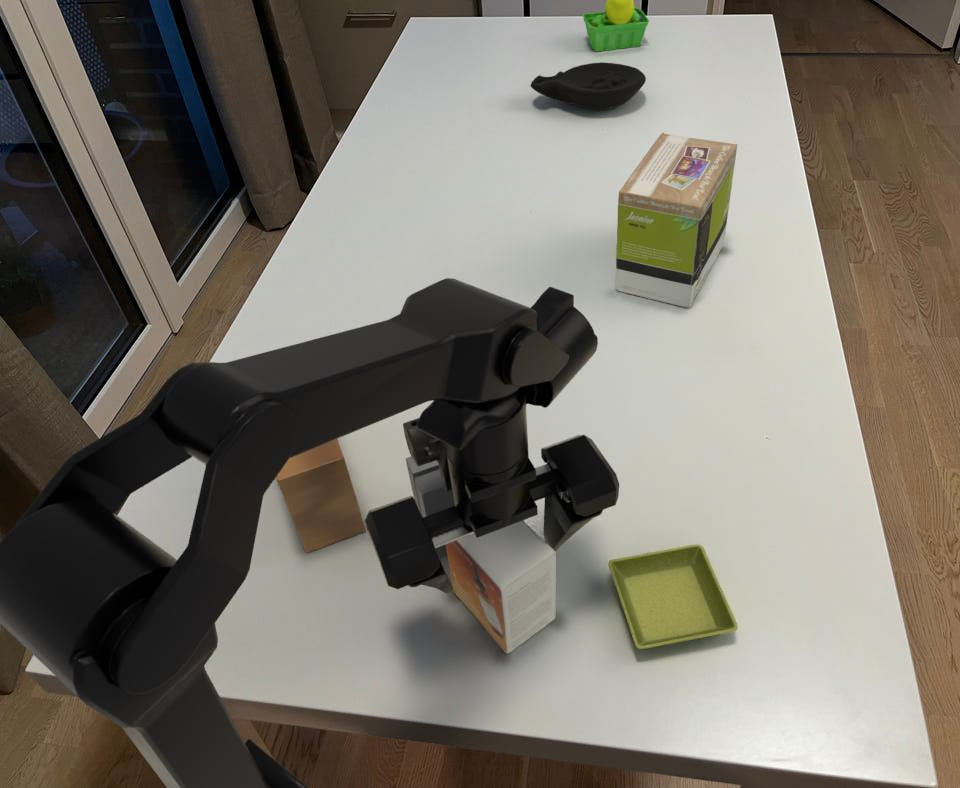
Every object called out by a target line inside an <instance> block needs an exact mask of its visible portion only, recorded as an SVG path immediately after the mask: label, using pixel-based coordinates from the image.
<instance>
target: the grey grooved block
mask: <svg viewBox="0 0 960 788" xmlns="http://www.w3.org/2000/svg"><path fill="white" fill-rule="evenodd" d="M405 463H406V466H407V467H406V468H407V472H408V476H409V477H408V478H409V481H410V486H411V491H412V495H413V498H414V500H415V502H416V504H417V507H418V509H419V511H420V514H421V516H422V518H423V517H426V516H429V515H432V514H434V513H437V512H440V511H442V510H445V509H448V508H450V507H453V506H455V503H454V497H453V491H452V490H451V491H449V492H447V491H446V489H445V487H444V485H443V483H442V480H441V474H440V469H439V464H438V462H437V460H436V461H433V462H430V463H427V464H424V465H421V466H417V465H416V463H415V461H414V460H413V458H412V456H411V455H410V456H408V457H406V458H405ZM435 550H436V552H437V554H438V556H439V558H440V559H443V558H445V557H448V555H447V549H446V545H443V546H441V547H438V548H436V549H435Z"/></svg>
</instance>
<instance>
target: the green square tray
mask: <svg viewBox="0 0 960 788" xmlns="http://www.w3.org/2000/svg"><path fill="white" fill-rule="evenodd" d="M607 565H608V567H609V571H610V574H611V576H612V580H613V582H614V586H615V589H616V592H617V594H618V597H619V601H620V604H621V607H622V610H623V612H624V616H625V619H626V622H627V625H628V627H629V631H630V633H631V637H632V639H633V643H634V646H635V648H637V649H638V650H646V649H650V648H657V647H661V646H667V645H671V644H677V643H682V642H688V641H693V640H698V639H702V638H708V637H713V636H718V635H724V634H729V633H734V632H736V631H738V628H739V625H738V622H737V620H736V618H735V616H734V614H733V612H732V609H731V607H730V605H729V602H728V600H727V598H726V596H725V593H724V591H723V588H722V587H721V585H720V582H719V580H718V578H717V576H716V573H715V571H714V568H713V566H712V564H711V562H710V559H709V557H708V555H707V553H706V550H705V548H704V546H703V545H701V544H697V543H696V544H689V545H684V546H679V547H674V548H668V549H663V550H658V551H657V550H656V551H652V552H647V553H642V554H641V553H640V554H636V555H635V554H634V555H630V556H623V557H619V558H618V557H617V558H613V559H610V560H608V564H607Z"/></svg>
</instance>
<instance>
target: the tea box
mask: <svg viewBox="0 0 960 788" xmlns="http://www.w3.org/2000/svg"><path fill="white" fill-rule="evenodd" d="M737 151H738V143H730V142H724V141H723V142H722V141H715V140H708V139H702V138H697V137H696V138H695V137H688V136H683V135H675V134H668V133H664V132H661V134H660V135H659V136H658V137H657V139H656V140H655V141H654V143H653V144H652V145H651V147H650V148H649V150H648V151H647V153H645V155H644V156H643V158H642V160H641V161H640V162H639V164H638V165H637V166H636V168H634V170H633V172H632V173H631V175H630V176H629V177H628V178H627V180H626V181H625V182H624V185H622V187H621V188H620V190H619V191H618V197H617V198H618V199H617V226H616V252H615V254H616V255H615V264H616V265H615V287H614V288H615V290H617V292H621V293H625V294H629V295H633V296H638V297H641V298H645V299H650V300H653V301H658V302H662V303H665V304H669V305H675V306H678V307H683V308H690V307H691V305H692V303H693V301H694V299H695V298H696V296H697V295H698V292H699V291H700V289H701V286H702V285H703V283H704V281H705V279H706V278H707V276H708V274H709V272H710V270H711V268H712V267H713V264H714V262H715V261H716V259H717V258H718V256H719V254H720V253H721V250H722V248H723V246H724V244H725V239H726V232H727V224H728V216H729V211H730V202H731V200H730V199H731V192H732V187H733V180H734V179H733V178H734V172H735V165H736V157H737Z"/></svg>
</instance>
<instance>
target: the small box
mask: <svg viewBox="0 0 960 788" xmlns="http://www.w3.org/2000/svg"><path fill="white" fill-rule="evenodd" d="M446 549H447V555H448V556H447V561H448V566H449V573H450V579H451V585H452V588H453V589H452V592H453V593H454V594H455V595H456V596H457V598H458V599H459V600H460V601H461V602H462V603H463V605H465V607H467V609H468V610H469V611H470V612H471V613H472V615H473V616H474V617H475V619H477V621H478V622H479V623H480V624H481V625H482V627H483V628H484V630H486V631H487V633H488V634H489V635H490V636H491V638H492V639H493V640H494V641H495V642H496V644H498V646H499V647H500V648H501V649H502V651H503V652H504V653H505V654H510V653H511V652H512V651H514V650H516V649H517V648H518V647H519V646H520V645H522V644H523V643H525V642H526V641H527V640H529V639H530V638H531V637H533V636H534V635H536V634H537V633H538V632H539V631H541V630H542V629H543V628H545V627H546V626H548V625H549V624H550V623H551V622H553V621H554V620H555V619H556V609H557V607H556V602H557V601H556V598H557V597H556V596H557V595H556V594H557V592H556V591H557V588H556V587H557V585H556V584H557V576H556V575H557V569H556V568H557V565H556V564H557V560H556V559H557V557H556V556H557V555H556V554H557V553H556V552H557V551H554V550H553V549H552V548H551V547H550V546H549V545H548V544H547V543H546V542H545V540H544V539H542V537H541V536H540V535H538V533H537V532H536V531H535V530H534V529H533V528H532V527H531V526H530V525H528V524H527V523H526V522H525V520H523V521H520V522H517V523H515V524H512V525H510V526H507V527H504V528H502V529H499V530H496V531H494V532H491V533H489V534H486V535H483V536H481V537H478V538H476V535H475V534H472V535H470V536H467V537H465V538H462V539H459V540H457V541H454V542H451V543H449V544H446Z"/></svg>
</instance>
